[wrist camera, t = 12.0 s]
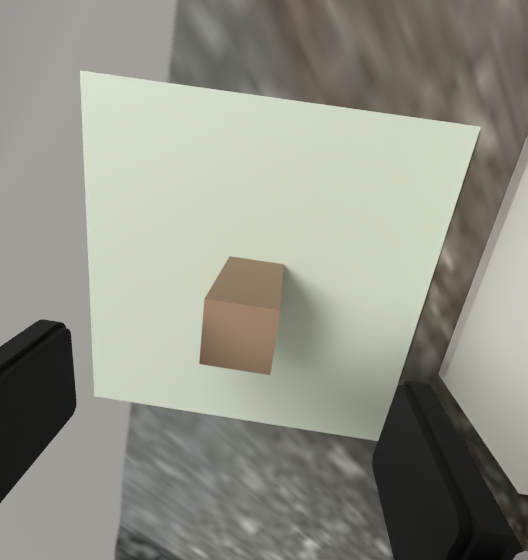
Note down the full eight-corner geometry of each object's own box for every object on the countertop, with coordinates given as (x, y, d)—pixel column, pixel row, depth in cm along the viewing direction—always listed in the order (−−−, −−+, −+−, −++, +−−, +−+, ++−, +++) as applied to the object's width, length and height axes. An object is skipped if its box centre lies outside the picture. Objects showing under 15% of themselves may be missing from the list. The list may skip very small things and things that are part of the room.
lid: (93, 76, 18) (-29, 27, 11) (468, 128, 17) (583, 112, 10) (103, 384, 24) (31, 474, 17) (374, 427, 24) (408, 536, 17)
